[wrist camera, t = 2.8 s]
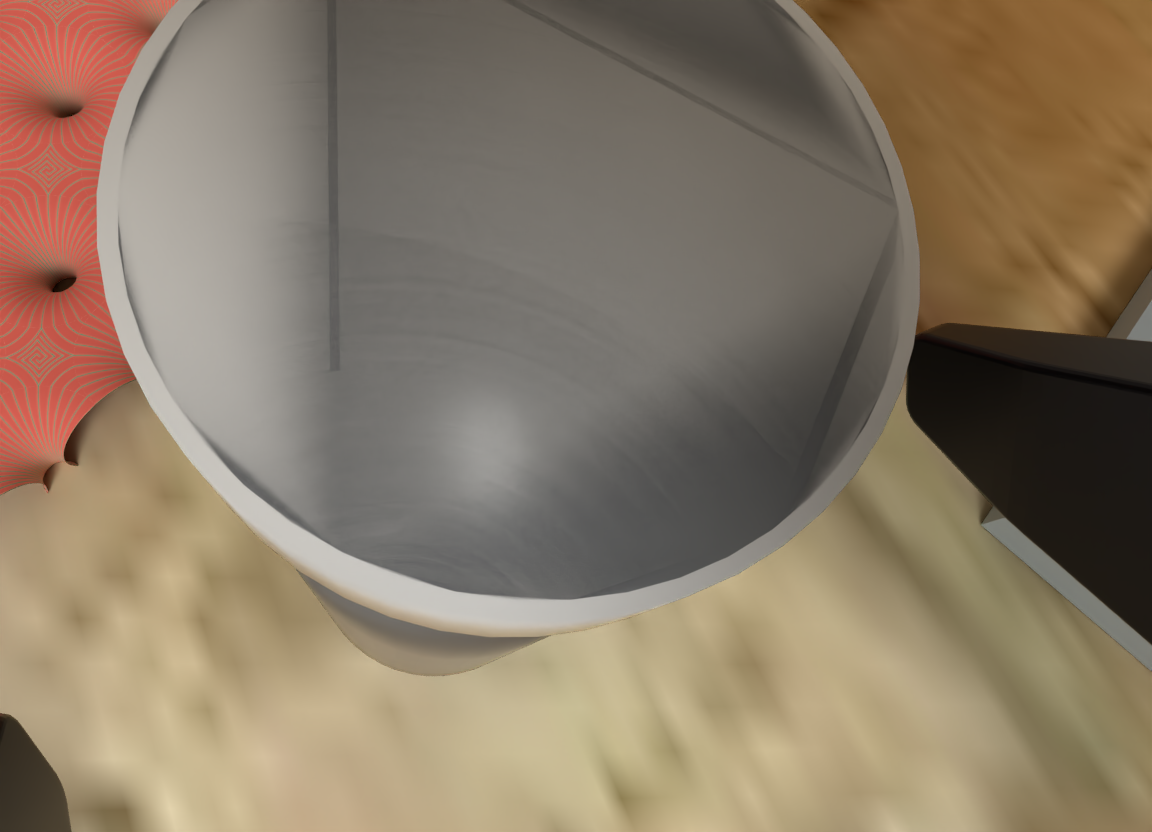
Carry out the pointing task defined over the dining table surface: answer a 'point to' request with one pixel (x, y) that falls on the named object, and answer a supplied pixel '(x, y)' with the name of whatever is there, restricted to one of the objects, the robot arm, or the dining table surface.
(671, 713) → the dining table surface
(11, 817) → the robot arm
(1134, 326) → the dock
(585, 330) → the peg
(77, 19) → the egg carton
